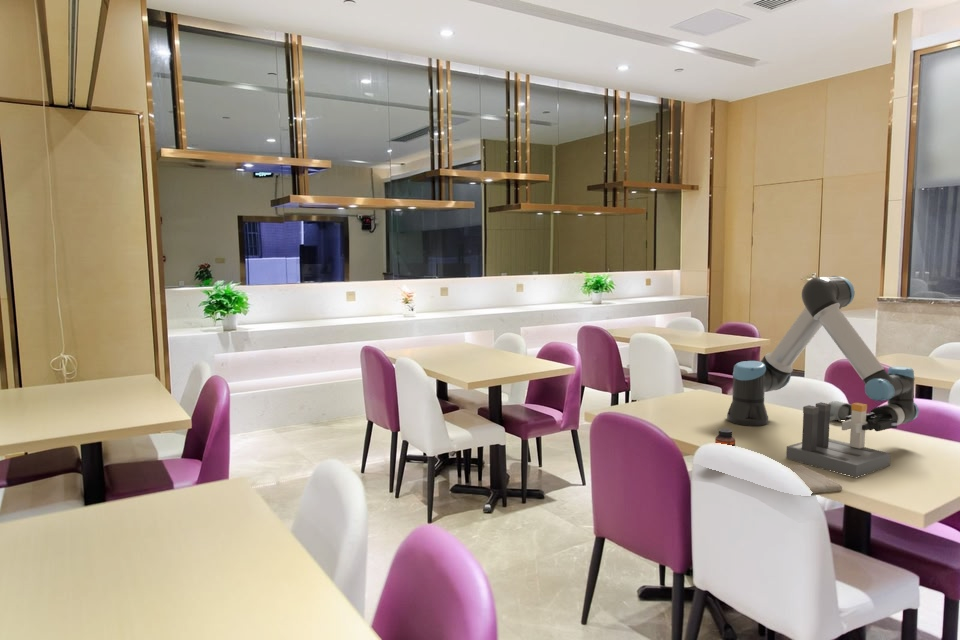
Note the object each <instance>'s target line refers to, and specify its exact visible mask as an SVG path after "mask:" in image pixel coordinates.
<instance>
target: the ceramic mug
mask: <svg viewBox="0 0 960 640" xmlns="http://www.w3.org/2000/svg"><path fill="white" fill-rule="evenodd" d="M828 404H831V410H830V422H832V421H835V420H836V421H837V420H838V422H840V423H842V422H843V421H841V420H845V418H846V416H849V415H852V410H851V406H852V403H851V404H850V403H849V402H848V403H847V402H843V401H840V400H839V401H838V400H833V401H830V402H828Z"/></svg>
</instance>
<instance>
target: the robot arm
mask: <svg viewBox="0 0 960 640" xmlns="http://www.w3.org/2000/svg"><path fill="white" fill-rule="evenodd" d="M854 298H855V287H854V285H853V283H852V282H851V281H850V280H849V279H847V278H845V277H843V276H838V275H832V276H817V277H814V278H811V279H809V280H808V281H806V283H805V284H804V286H803V287H802V290H801V299H802V302H803V304H804V306H805V307H804V308H803V309H802V310H801V313H800V314H799V315H798V317H797V318H796V319H795V321H794V323H792V325H791V326H790V328H789V329H788V330H787V331H786V333H785V334H784V336H783V337H782V339H781V340H780V341H779V343H778V344H777V345H776V347H775V348H774V349H773V351H772V352H768V353H766V354H765V355H764V356H763V358H762V359H761V360H760V361H758V360H747V361H746V360H745V361H744V360H743V361H740V362H737V363H736V364H734V365H733V372H732V397H731V398H732V401H731V403H730V406H729V408H728V411H727V415H726V420H727V422H730V423H733V424H736V425H741V426H748V427H750V426H752V427H759V426H766V425H768V424H769V415H768V411H767V408H766V405H765V395H766V394H765V393H768V392H772V391H778V390H781V389H782V388H785V387H786V386H788V384H789V382H790V380H791V377H792V375H791V373H793V371H794V367H793V364H794V363H795V361H797V359H798V358H799V356H800V355H801V354H802V352H803V351H804V350H805V348H807V346H808V345H809V343H810V342H811V341H812V339H813V338H814V337H815V335H817V334H818V332H819V330H820V329H821V327H823V328H824V329H825V331H826V332H827V334H828V335H829V337H831V339H832V341H834V343H835V344H836V346H837V347H838V349H839V350H840V352H841V353H842V354H843V355H844V357H845V359H847V361H848V362H849V364H850V365H851V366H852V368H853V369H854V370H855V372H856V373H857V374H858V376H859V377H860V378H861V380H862V381H863V383H864V384H865V385H864V392H865V395H866V396H867V397H868V398H869V399H871V400H872V401H874V402H883V401H887V404H884V405H880V406H877V407H874V408H873V409H871V411H869V412H868V413H866V421H864V422H861V423H857V424H854V433H859V432H862V431H865V432H866V431H873V430H874V431H875V432H881V431H885V430H889V429H897V428H898V426H900V425H902V424H903V425H904V424H908V423H910V422H912V421H914V420H915V419H917V417H918V416H919V413H920V410H919V407H918V405H917V404H916V403H915V399H914V396H915V371H914V369H913V368H911V367H907V366H890V367H888V369H887V371H886V369H885V368H884V366H883V365H882V364H881V362H880V361H879V360H878V359H877V357H876V356H875V354H874V353H873V352H872V350H871V349H870V348H869V346H868V345H867V344H866V343H865V341H864V340H863V338H862V337H861V336H860V335H859V333H858V332H857V330H856V329H855V327H854V326H853V325H852V323H850V321H849V320H848V319H847V317H846V316H845V314H844V313H843V312H842V308H845V307H847V306H848V305H850V304H851V303H852V301H853V300H854ZM847 430H851V415H849V416H846V418H845V421H843V422H841V431H847Z"/></svg>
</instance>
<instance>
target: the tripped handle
mask: <svg viewBox="0 0 960 640" xmlns="http://www.w3.org/2000/svg"><path fill="white" fill-rule="evenodd" d="M851 405H852V406H851V410H852V415H851V429H850V434H849V435H850V437H849V443H850V446H851V447H855V448H859V449H860V448H863V447H865V444H866V443H865V441H866V430H865V431H862V432H859V433H854V424H857V423H861V422H864V421H866V414H867V411H868V404H867V403H861V402H853V403H851Z"/></svg>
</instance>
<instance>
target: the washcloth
mask: <svg viewBox="0 0 960 640" xmlns="http://www.w3.org/2000/svg"><path fill="white" fill-rule="evenodd" d="M787 467H788V468H790V469H791V470H792V471H793V472H795V473H796V474H797V475H798V476H799V477H800V478H801V479H802V480H803V481H804V482H805V484H806V485H807V486H808V487H809V488H810V490H811V491H812V492H813V494H818V493H820V494H821V493H831V492H840V491H842V490H843V487H842V485H841V484H840V483H838V482H837V481H835V480H833V479H830V478H829V477H827V476H825V475H824V474H821V473H819V472H817V471H815V470H812V469H810V468H809V467H807V466H804V465H801V464H795V465H792V466H791V465H790V466H787ZM813 494H812V495H813Z"/></svg>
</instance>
